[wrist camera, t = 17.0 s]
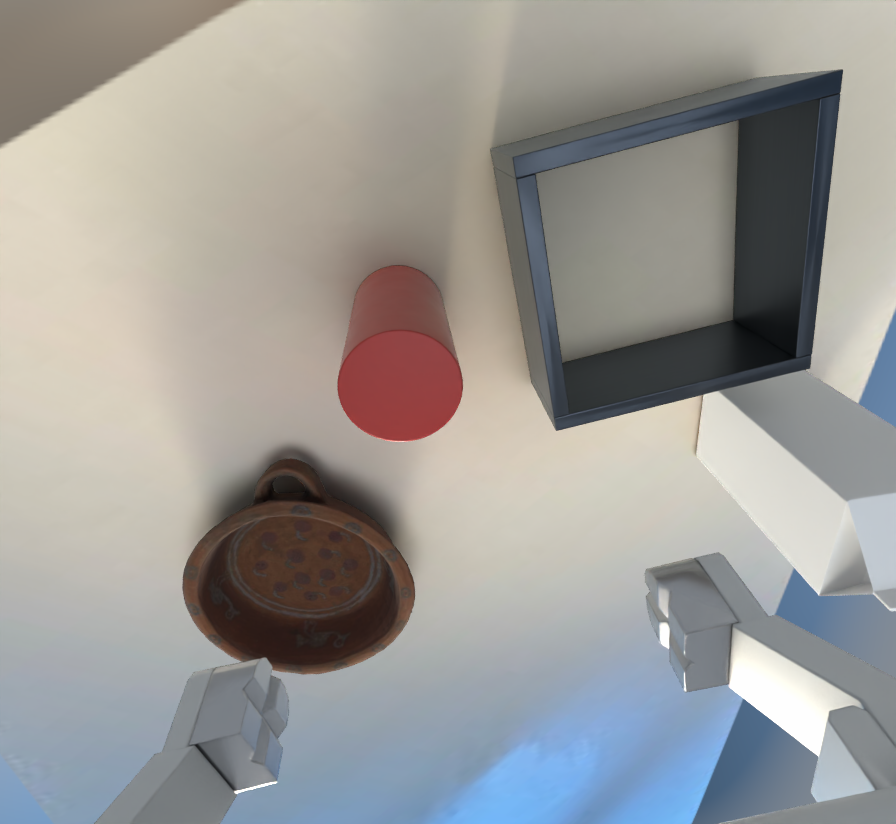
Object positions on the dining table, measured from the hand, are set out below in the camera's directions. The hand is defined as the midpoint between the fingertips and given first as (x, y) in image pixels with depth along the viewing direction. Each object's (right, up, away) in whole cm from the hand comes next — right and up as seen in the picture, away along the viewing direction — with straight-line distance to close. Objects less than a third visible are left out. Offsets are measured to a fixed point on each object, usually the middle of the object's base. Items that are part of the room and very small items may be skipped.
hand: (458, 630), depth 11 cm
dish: (-12, -7, +35) cm, 38 cm away
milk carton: (+23, +5, +32) cm, 39 cm away
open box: (+12, +15, +24) cm, 31 cm away
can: (-4, +11, +25) cm, 28 cm away
